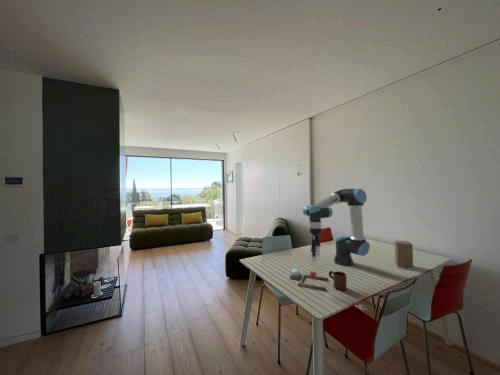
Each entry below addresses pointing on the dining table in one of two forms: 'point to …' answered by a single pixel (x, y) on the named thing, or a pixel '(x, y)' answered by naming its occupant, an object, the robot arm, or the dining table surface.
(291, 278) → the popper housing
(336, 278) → the mug
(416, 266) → the dining table surface
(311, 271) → the die
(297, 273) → the dome
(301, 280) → the bay
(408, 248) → the wooden block
